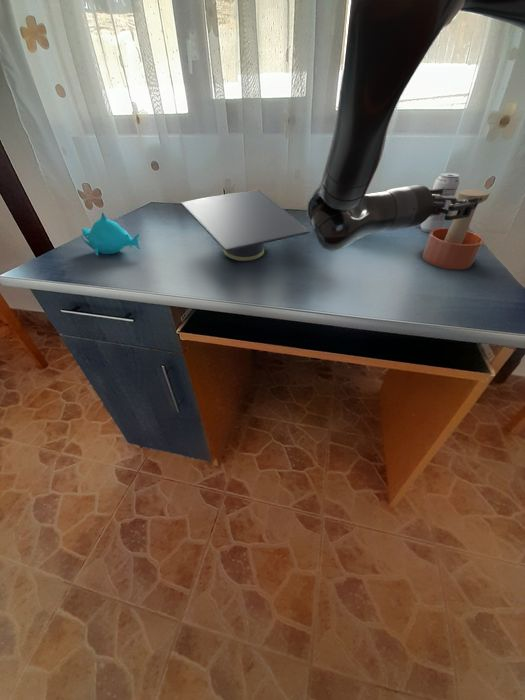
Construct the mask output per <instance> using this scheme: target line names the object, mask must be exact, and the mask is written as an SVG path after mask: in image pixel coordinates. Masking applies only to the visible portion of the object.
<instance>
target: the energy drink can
mask: <svg viewBox="0 0 525 700" xmlns="http://www.w3.org/2000/svg"><path fill="white" fill-rule="evenodd" d="M459 177H460V174H458V173H453V172H441V173H440V174H439V176H438V177H437V178H436V179H435V181H434V183H433V187H432V189H438V188H441V189H443V193H442V196H454V197H455V195H456V192H457V190H458V187H459V185H460V178H459ZM449 202H450V200H446V203H445V207H448V205H449ZM444 218H445V216H437V215H436V216H434V217H431V216H430V217H428V218H427V219H426V220H425V221H424V222H423V223H421V224H419V226H420V228H421V231H423V232H426V233H429V234H430V232H431V231H432V230H434V229H438V228H444V227H443V226H444V224H445V221H446V220H445V219H444Z"/></svg>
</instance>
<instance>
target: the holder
mask: <svg viewBox="0 0 525 700" xmlns="http://www.w3.org/2000/svg"><path fill="white" fill-rule="evenodd" d="M449 228H450V227H442V228H438V229H434V230H432V231H431V232H430V233H429V234H428V235H429V236H428V238H427V240H426V244H425V246H424V249H423V252H422V255H421V256H422V259H423V260H424V261H425V262H427V263H428V264H430V265H432V266H435V267H438V268H441V269H448V270H466V269H469V268H471V267H472V265H473V264H474V262H475V260H476V258H477V256H478V254H479V252H480V250H481V248H482V245H483V243H484V238H483V236H481V235H479V234H478V233H476V232H473V231H470V230H467V233H466V236H465V238H464V240H463V242H462V244H455V243H450V242H446V241H444V240H445V237H446V235H447V232H448V230H449Z"/></svg>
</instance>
